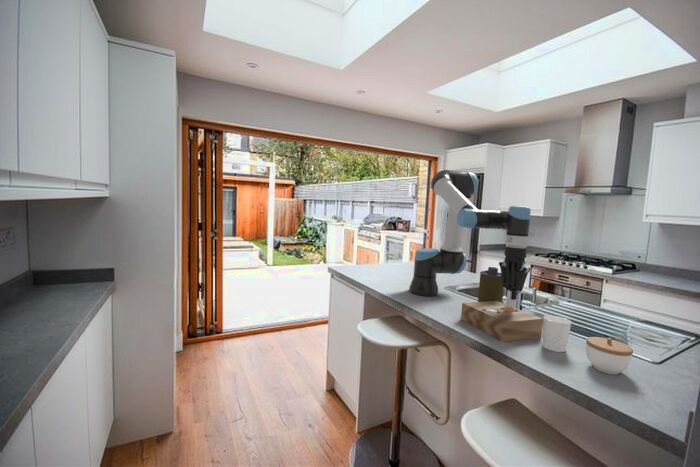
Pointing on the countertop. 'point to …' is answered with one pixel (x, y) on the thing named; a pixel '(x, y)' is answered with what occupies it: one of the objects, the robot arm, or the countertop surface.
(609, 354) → the lidded jar
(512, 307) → the terracotta plug
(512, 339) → the walnut block
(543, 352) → the countertop surface
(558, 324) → the white cup
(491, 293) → the canister
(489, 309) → the white glossy ovoid
